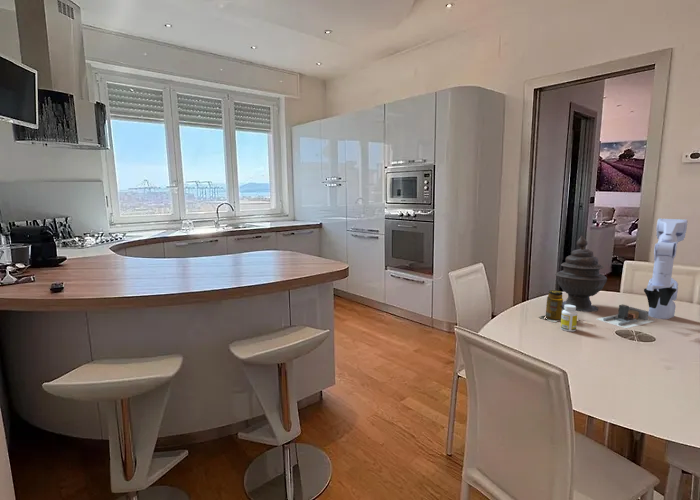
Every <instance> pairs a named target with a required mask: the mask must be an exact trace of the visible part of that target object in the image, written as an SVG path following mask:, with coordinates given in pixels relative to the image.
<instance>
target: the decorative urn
mask: <svg viewBox="0 0 700 500" xmlns="http://www.w3.org/2000/svg"><path fill="white" fill-rule="evenodd" d="M588 243H589V242H588V241H587V240H586V238H584V236H583V235H580V237H579V239H578V240H577V241H576V245H577V246H578V247H579V249H574V250H572V251H571V252H570V253H571V254H570V255H568V256H566V257H565V262H562V263H561V264H560V266H561V267H562V268H563V270H560V271H558V272H556V273H555V280H556V281H557V285H558V286H559V287H560V288H561V290H562V292H564V293H565V294H567V298H566V300H563V305H562V310H565V309H564V305H567V304H568V305H574V306H576V310H575V311H576V312H581V313H582V312H584V313H592V312H593V313H594V312H595V313H596V312H598V311H599V307H598V306H596V305H592V301H591V298H590V297H593V296H595V295H596V294H598V293H599V292H600V291H602V290H603V289H604V286H605V285H606V284H607V280H608V278H607V276H606V275H604V274H602V273H600V270H601V269H603V268H604V266H603V265H602V264H599V257H596V256H594V251H592V250H590V249H587V248H585V247H586V246H587V245H588Z"/></svg>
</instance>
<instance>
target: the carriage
mask: <svg viewBox="0 0 700 500" xmlns="http://www.w3.org/2000/svg"><path fill="white" fill-rule="evenodd" d="M629 307H630V306H629V305H627V304H619V305H618V313H617V314H618V316H617V317H615V320H619V321H622V322H624V321H629V320H633V319H635V314H632V313H628V311H629Z"/></svg>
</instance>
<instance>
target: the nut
mask: <svg viewBox="0 0 700 500" xmlns="http://www.w3.org/2000/svg"><path fill="white" fill-rule="evenodd" d="M628 313H632V314H635V319H637V320H638V316H639V312H637V311H633V310H629V311H628Z"/></svg>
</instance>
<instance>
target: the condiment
mask: <svg viewBox="0 0 700 500" xmlns="http://www.w3.org/2000/svg"><path fill="white" fill-rule="evenodd" d="M563 302H564V298H563V291H561V290H557V289H556V290H555V289H553V290H549V291H548V295H547V297H546V310H545V315H542V316H539V317H538V318H539V319H542V320H545V319H546V318H547V320H546V321H548V322H551V323H556V322H561V316H562V311H563V308H562V305H563ZM545 316H546V318H545V319H544V317H545ZM554 320H555V321H554Z"/></svg>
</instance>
